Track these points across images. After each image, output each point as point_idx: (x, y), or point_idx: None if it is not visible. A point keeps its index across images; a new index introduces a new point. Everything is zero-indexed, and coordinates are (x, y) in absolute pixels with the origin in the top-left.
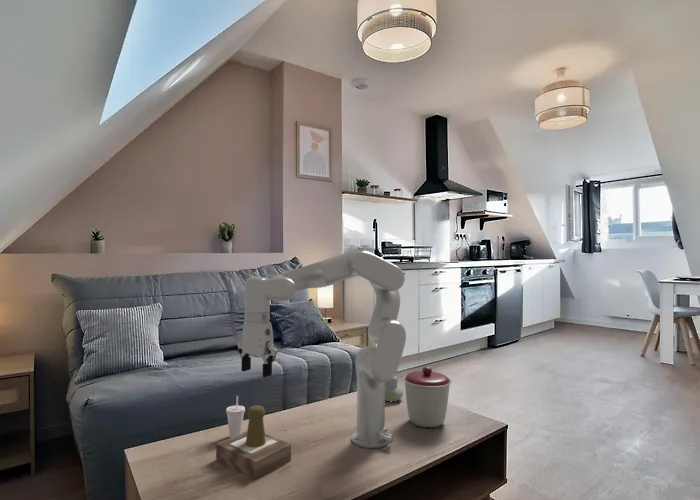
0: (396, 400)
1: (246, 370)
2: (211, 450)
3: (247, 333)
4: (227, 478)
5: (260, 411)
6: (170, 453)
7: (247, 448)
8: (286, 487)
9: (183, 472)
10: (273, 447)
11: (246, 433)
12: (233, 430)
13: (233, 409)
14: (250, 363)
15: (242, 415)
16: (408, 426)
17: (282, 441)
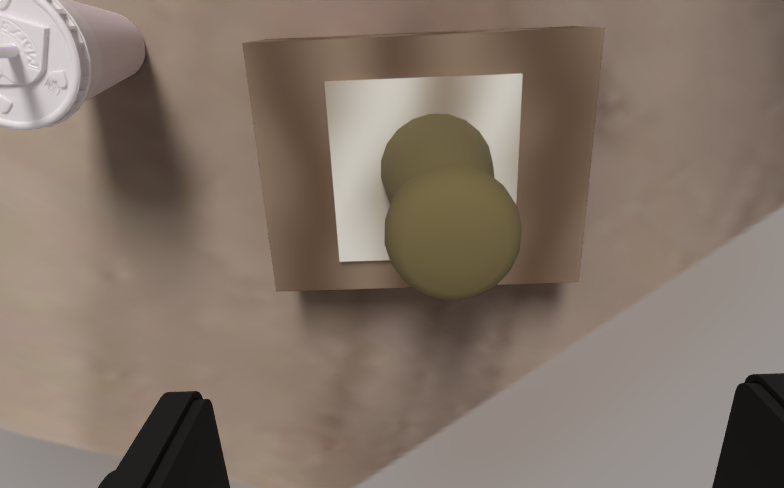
0: None
1: (223, 465)
2: (188, 220)
3: None
4: (457, 307)
5: (518, 249)
6: (101, 341)
7: None
8: (706, 204)
9: (291, 380)
10: (545, 129)
11: (277, 115)
12: (118, 81)
13: (18, 83)
14: (169, 486)
15: (84, 30)
16: None
17: (534, 38)
